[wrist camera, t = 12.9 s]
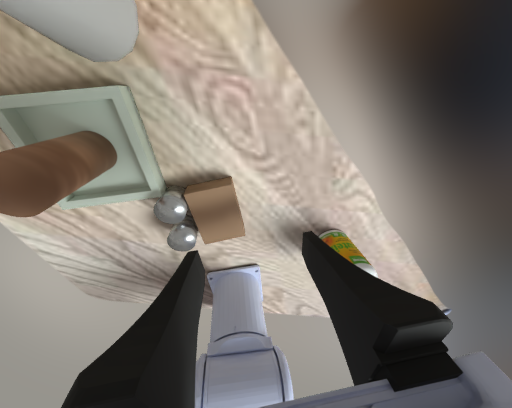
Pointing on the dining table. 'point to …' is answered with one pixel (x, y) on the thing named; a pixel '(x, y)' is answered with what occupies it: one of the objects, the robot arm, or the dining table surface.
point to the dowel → (51, 171)
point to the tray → (96, 120)
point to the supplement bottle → (347, 249)
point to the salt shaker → (81, 24)
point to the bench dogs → (177, 218)
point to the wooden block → (215, 210)
